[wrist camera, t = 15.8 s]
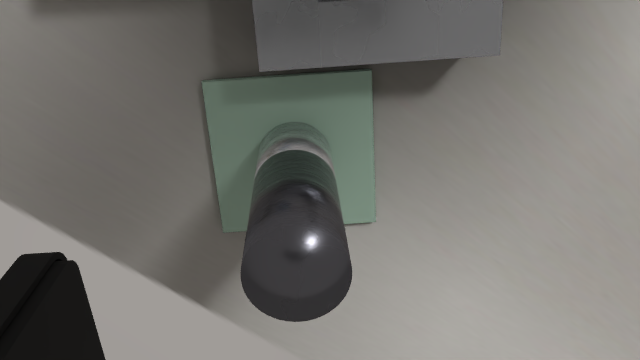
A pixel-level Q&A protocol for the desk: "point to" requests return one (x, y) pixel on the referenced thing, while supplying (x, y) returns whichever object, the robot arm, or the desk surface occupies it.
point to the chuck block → (373, 31)
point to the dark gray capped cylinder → (295, 228)
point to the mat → (292, 106)
